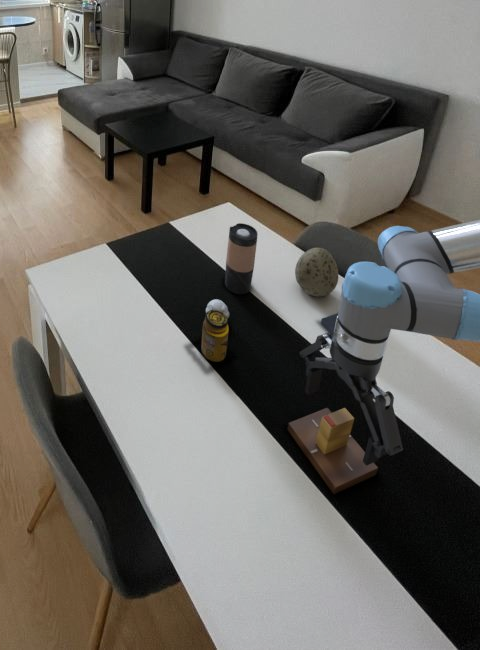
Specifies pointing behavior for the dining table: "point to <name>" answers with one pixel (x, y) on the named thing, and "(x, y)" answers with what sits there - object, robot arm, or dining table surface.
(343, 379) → the robot arm
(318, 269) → the decorative egg
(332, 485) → the brown wooden flat block
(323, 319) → the switch block
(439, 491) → the dining table surface
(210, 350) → the condiment
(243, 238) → the travel mug
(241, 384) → the dining table surface
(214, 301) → the white lumpy ball
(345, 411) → the yellow upright flat block
